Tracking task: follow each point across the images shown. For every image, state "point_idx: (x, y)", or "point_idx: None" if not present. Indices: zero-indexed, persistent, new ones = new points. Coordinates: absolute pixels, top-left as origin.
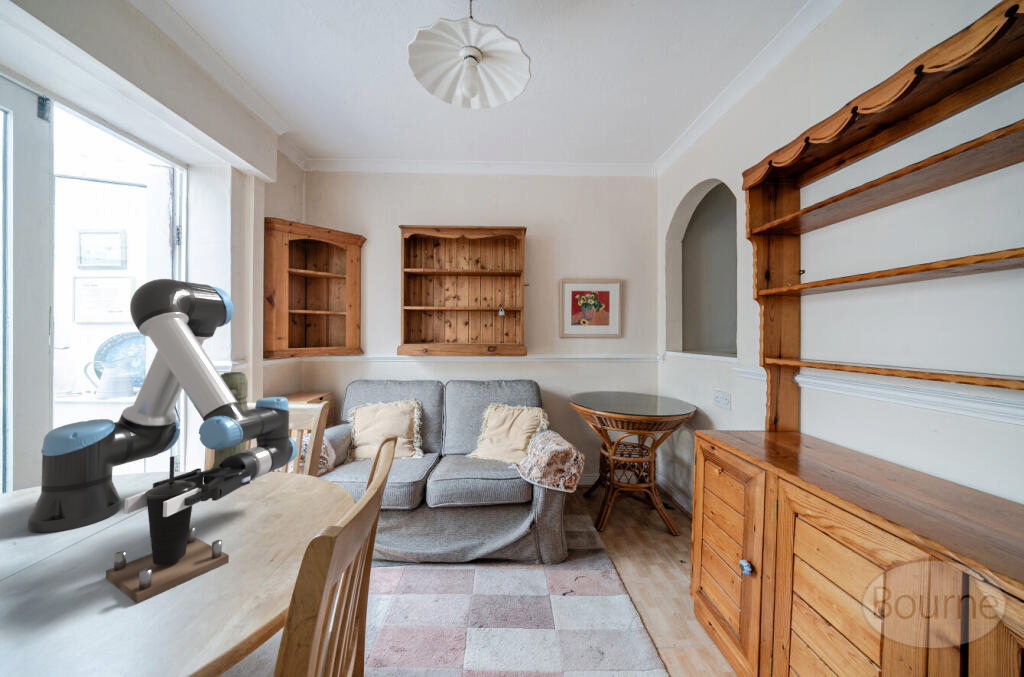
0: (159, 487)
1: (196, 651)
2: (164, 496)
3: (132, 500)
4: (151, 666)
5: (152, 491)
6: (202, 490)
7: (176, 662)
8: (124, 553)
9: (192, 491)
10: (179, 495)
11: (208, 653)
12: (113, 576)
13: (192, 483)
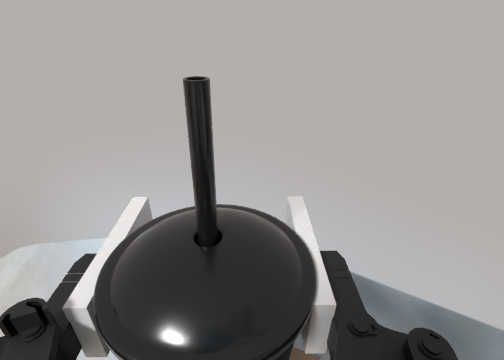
0: (229, 213)
1: (32, 260)
2: (172, 212)
3: (289, 213)
4: (80, 241)
5: (242, 210)
6: (46, 318)
7: (52, 247)
8: (321, 358)
9: (86, 271)
10: (124, 234)
11: (14, 259)
12: (303, 352)
13: (131, 326)
